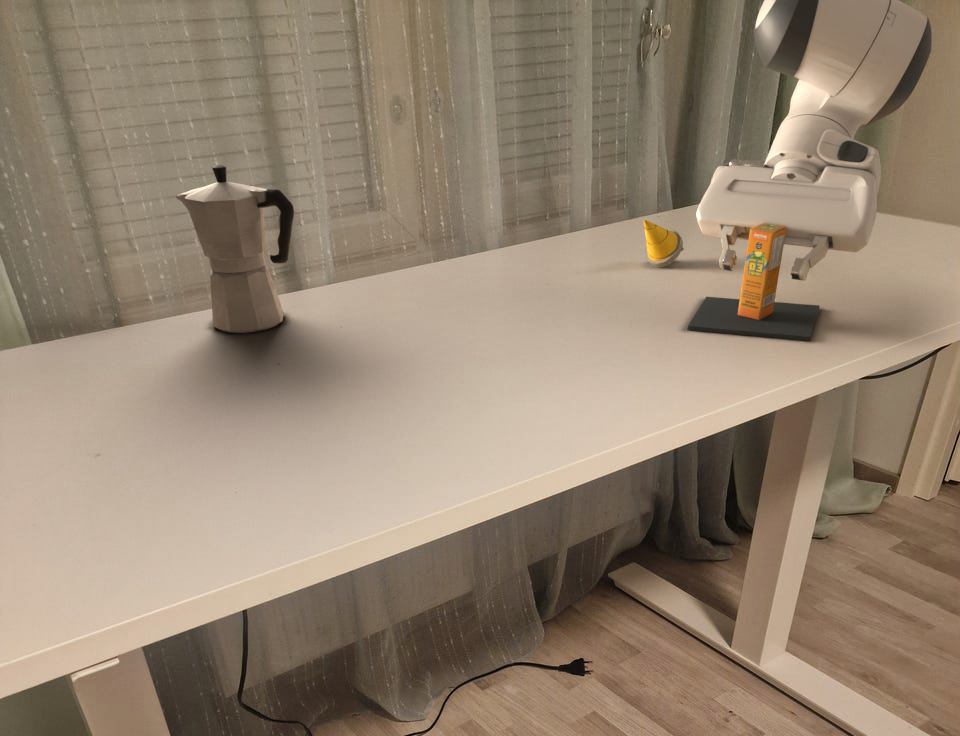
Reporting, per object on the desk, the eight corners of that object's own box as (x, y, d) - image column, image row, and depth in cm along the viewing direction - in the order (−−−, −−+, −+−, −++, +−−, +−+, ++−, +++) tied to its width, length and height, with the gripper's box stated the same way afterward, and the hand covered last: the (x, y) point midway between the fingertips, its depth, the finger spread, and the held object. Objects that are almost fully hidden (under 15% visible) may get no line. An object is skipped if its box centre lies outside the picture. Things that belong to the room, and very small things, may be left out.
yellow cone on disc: (691, 270, 124) (662, 228, 116) (656, 283, 127) (626, 243, 119) (690, 239, 125) (661, 195, 118) (656, 253, 128) (626, 211, 121)
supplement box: (734, 316, 105) (747, 227, 98) (750, 309, 106) (763, 221, 100) (758, 321, 103) (773, 231, 97) (774, 314, 105) (789, 225, 98)
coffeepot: (184, 329, 109) (146, 171, 98) (223, 307, 116) (192, 156, 105) (293, 338, 105) (266, 173, 94) (327, 314, 112) (305, 158, 101)
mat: (818, 309, 107) (819, 305, 107) (809, 341, 98) (810, 336, 98) (705, 300, 111) (706, 296, 111) (687, 330, 103) (687, 325, 102)
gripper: (715, 140, 103) (672, 246, 103) (893, 151, 94) (846, 267, 93) (725, 175, 109) (684, 276, 109) (893, 189, 99) (849, 299, 99)
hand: (760, 272), depth 101 cm, fingers open, 7 cm apart
